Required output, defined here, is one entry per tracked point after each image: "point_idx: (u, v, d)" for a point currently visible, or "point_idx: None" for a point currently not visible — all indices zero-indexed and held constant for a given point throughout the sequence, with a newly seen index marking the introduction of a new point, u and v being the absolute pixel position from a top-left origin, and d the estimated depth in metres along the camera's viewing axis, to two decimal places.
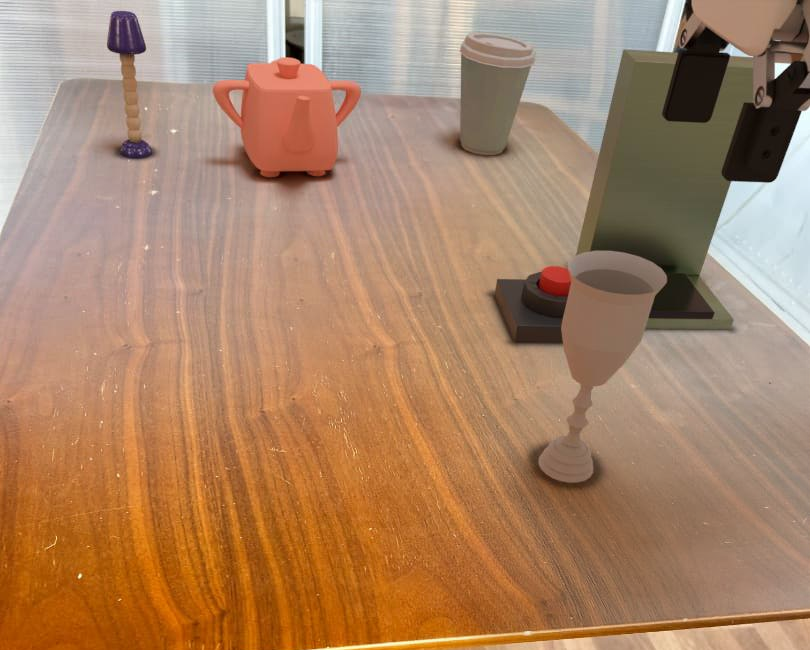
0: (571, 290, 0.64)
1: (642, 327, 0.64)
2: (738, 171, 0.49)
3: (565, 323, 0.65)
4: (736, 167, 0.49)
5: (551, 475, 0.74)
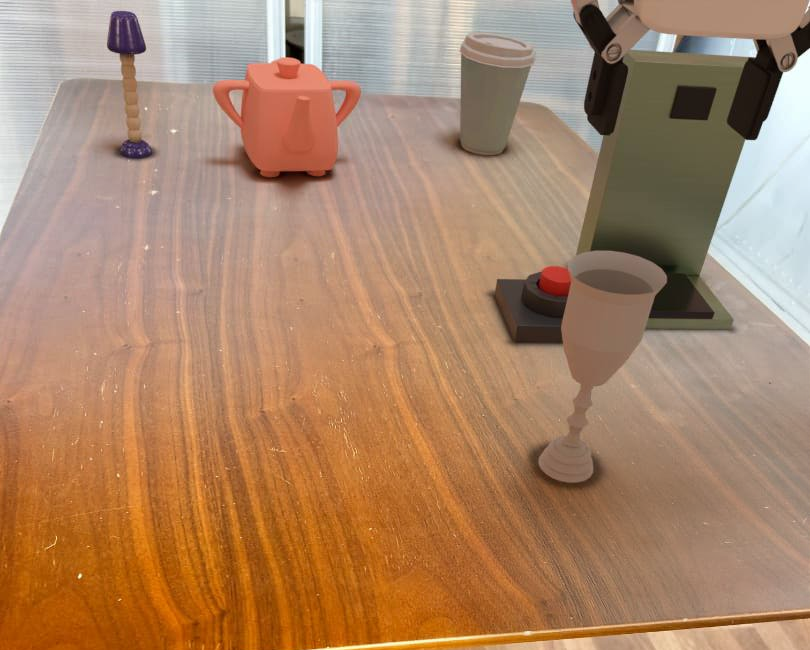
0: (571, 290, 0.64)
1: (642, 327, 0.64)
2: None
3: (565, 323, 0.65)
4: None
5: (551, 475, 0.74)
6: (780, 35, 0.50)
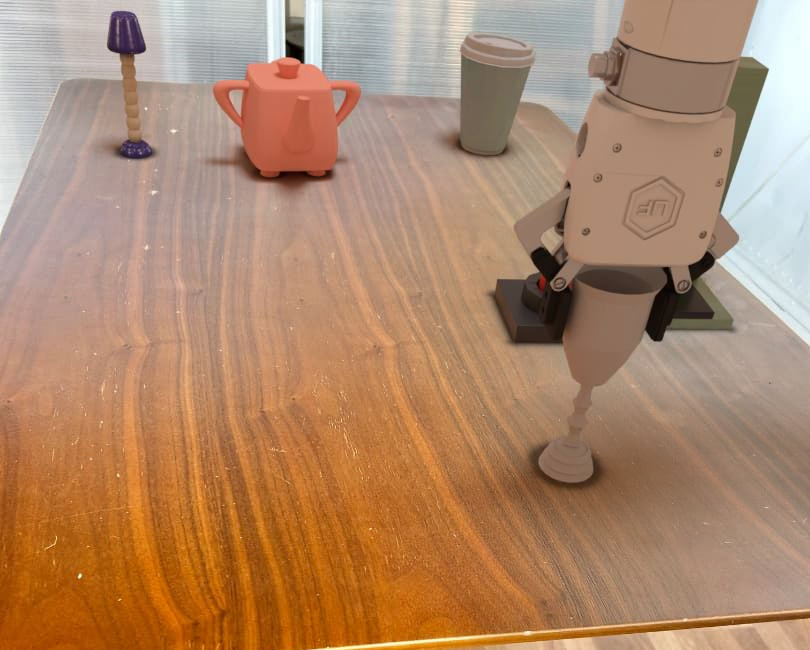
0: (571, 290, 0.64)
1: (642, 327, 0.64)
2: None
3: None
4: None
5: (551, 475, 0.74)
6: (687, 264, 0.61)
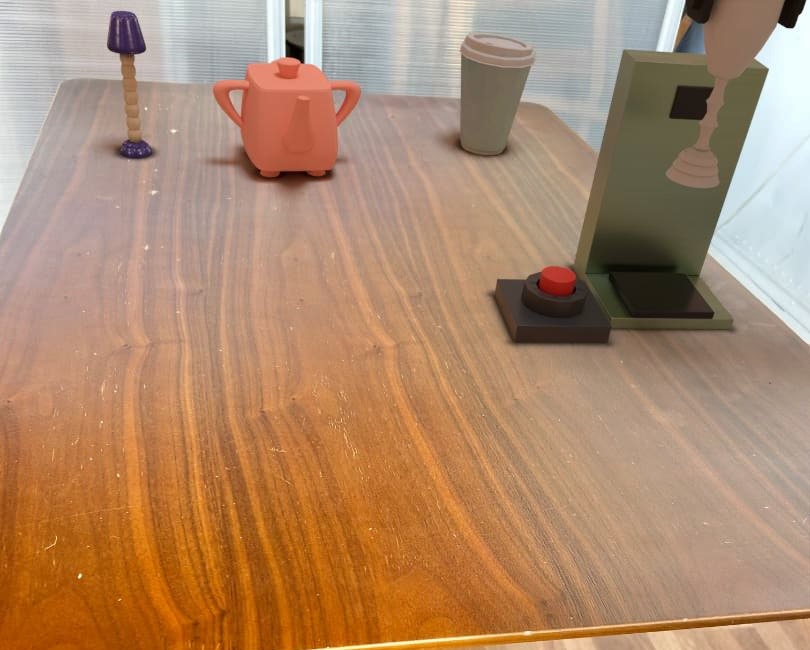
0: None
1: (780, 8, 0.72)
2: (691, 9, 0.74)
3: None
4: None
5: (682, 179, 0.82)
6: None
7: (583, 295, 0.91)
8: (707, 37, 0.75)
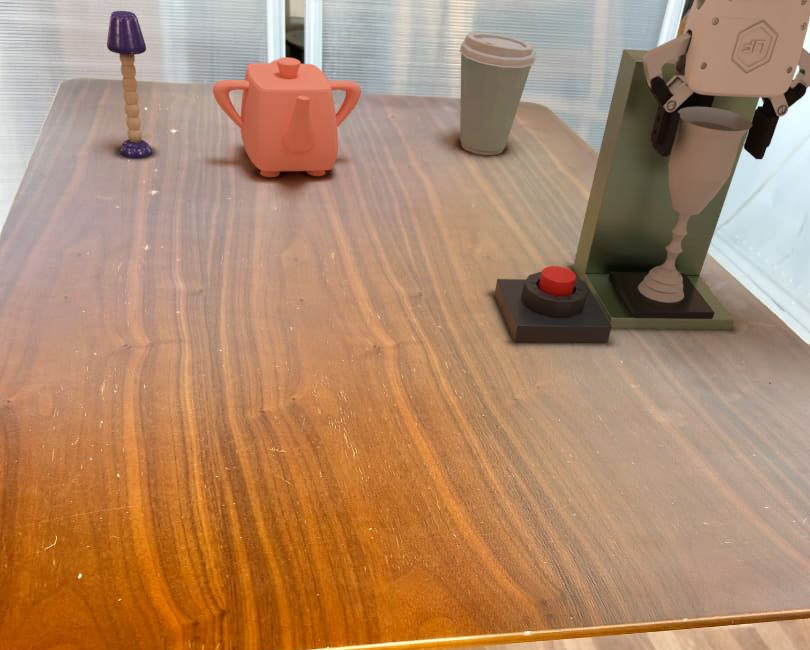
0: (679, 133, 0.85)
1: (732, 162, 0.85)
2: None
3: (672, 161, 0.86)
4: None
5: (651, 294, 0.95)
6: (776, 95, 0.81)
7: (583, 295, 0.91)
8: (671, 183, 0.88)
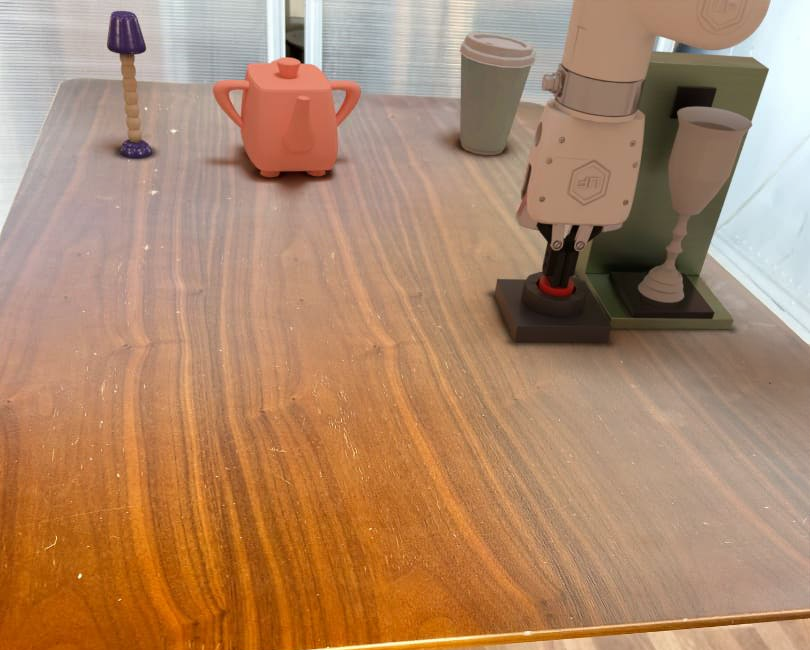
0: (679, 133, 0.85)
1: (732, 162, 0.85)
2: None
3: (672, 161, 0.86)
4: None
5: (651, 294, 0.95)
6: (615, 224, 0.85)
7: (583, 295, 0.91)
8: (671, 182, 0.88)
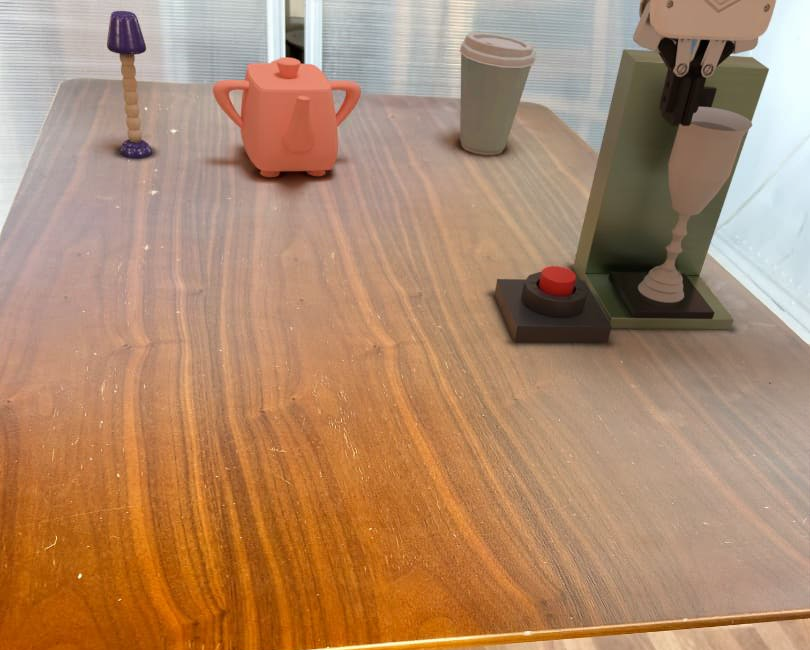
0: (679, 133, 0.85)
1: (732, 162, 0.85)
2: None
3: (672, 161, 0.86)
4: None
5: (651, 294, 0.95)
6: (753, 37, 0.73)
7: (583, 295, 0.91)
8: (671, 182, 0.88)
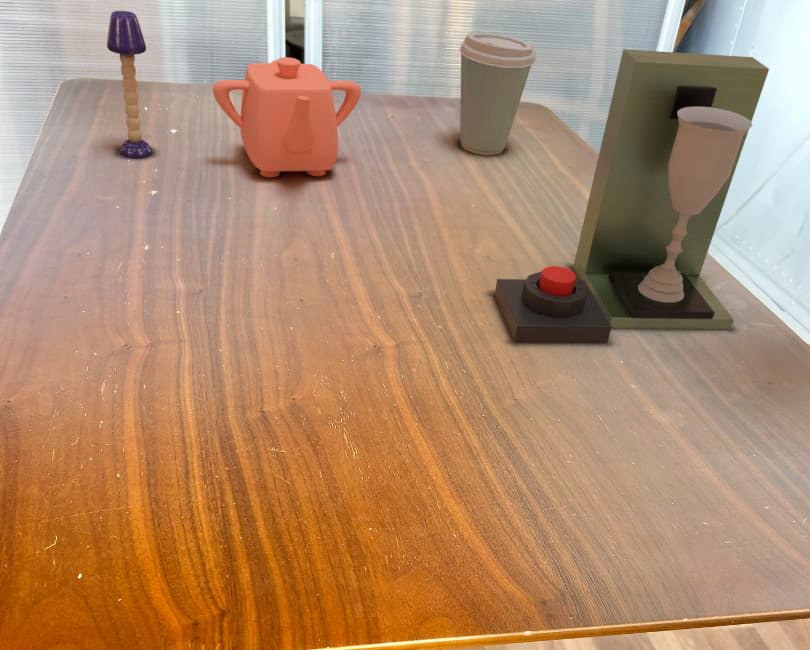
0: (679, 133, 0.85)
1: (732, 162, 0.85)
2: None
3: (672, 161, 0.86)
4: None
5: (651, 294, 0.95)
6: None
7: (583, 295, 0.91)
8: (671, 182, 0.88)
